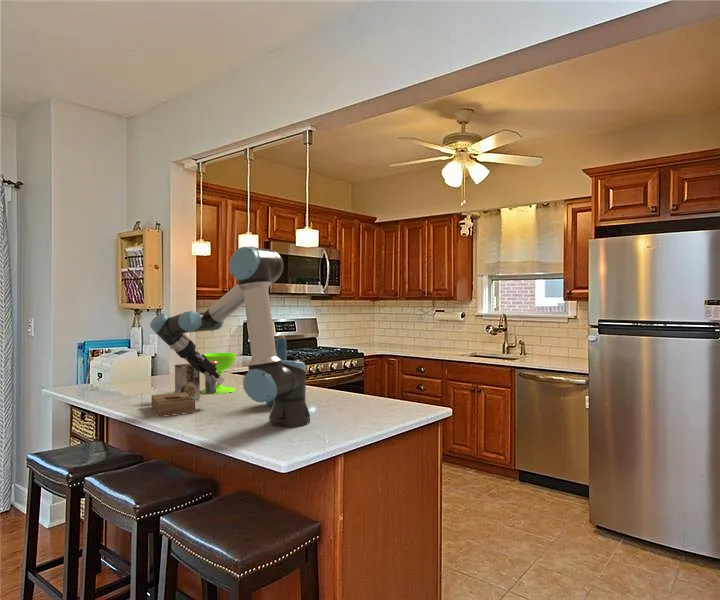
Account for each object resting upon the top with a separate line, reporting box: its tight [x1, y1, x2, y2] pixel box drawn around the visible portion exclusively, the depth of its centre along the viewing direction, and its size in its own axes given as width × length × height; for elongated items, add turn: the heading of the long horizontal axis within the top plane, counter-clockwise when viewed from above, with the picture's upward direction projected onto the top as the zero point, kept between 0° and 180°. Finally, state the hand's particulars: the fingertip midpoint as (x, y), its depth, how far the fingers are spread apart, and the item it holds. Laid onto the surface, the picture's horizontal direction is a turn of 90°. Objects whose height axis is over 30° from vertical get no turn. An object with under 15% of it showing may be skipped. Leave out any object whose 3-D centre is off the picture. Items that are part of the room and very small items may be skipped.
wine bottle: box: [265, 334, 288, 408], centre depth 229 cm, size 14×13×30 cm
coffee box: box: [174, 362, 201, 401], centre depth 238 cm, size 9×6×16 cm
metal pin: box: [204, 361, 218, 395], centre depth 222 cm, size 6×6×13 cm
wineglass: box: [202, 352, 237, 395], centre depth 261 cm, size 16×16×18 cm
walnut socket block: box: [151, 392, 196, 417], centre depth 218 cm, size 20×14×5 cm
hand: (218, 381), depth 225 cm, fingers closed on metal pin, 4 cm apart
